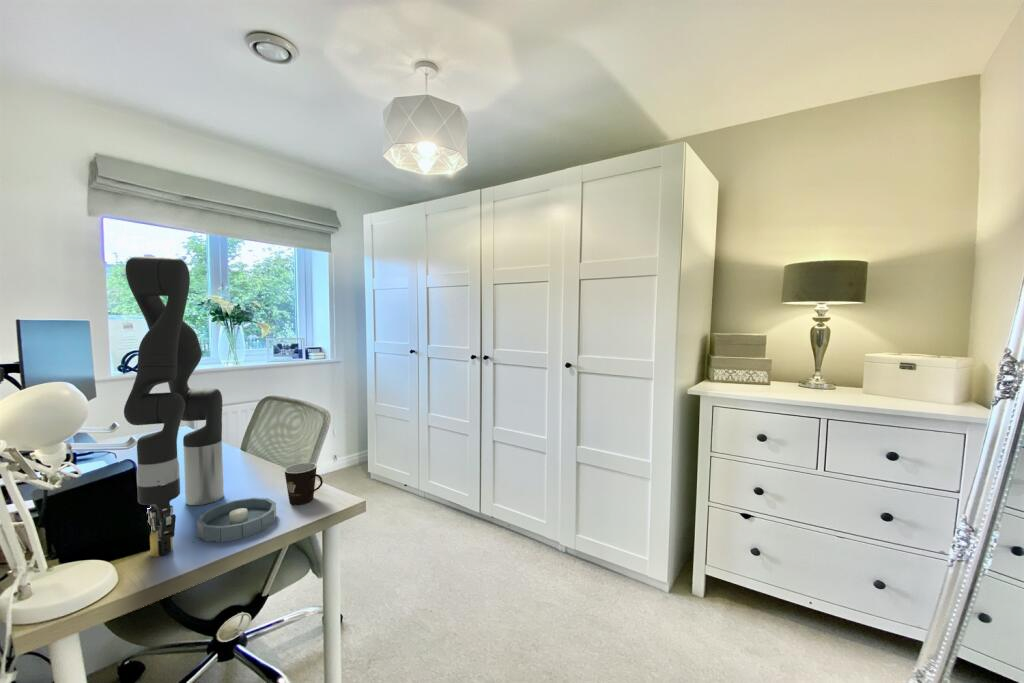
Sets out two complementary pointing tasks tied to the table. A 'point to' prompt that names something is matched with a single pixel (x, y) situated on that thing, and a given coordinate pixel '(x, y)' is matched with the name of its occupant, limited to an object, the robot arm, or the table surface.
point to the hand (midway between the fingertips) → (161, 550)
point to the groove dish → (237, 531)
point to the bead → (156, 544)
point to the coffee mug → (301, 482)
